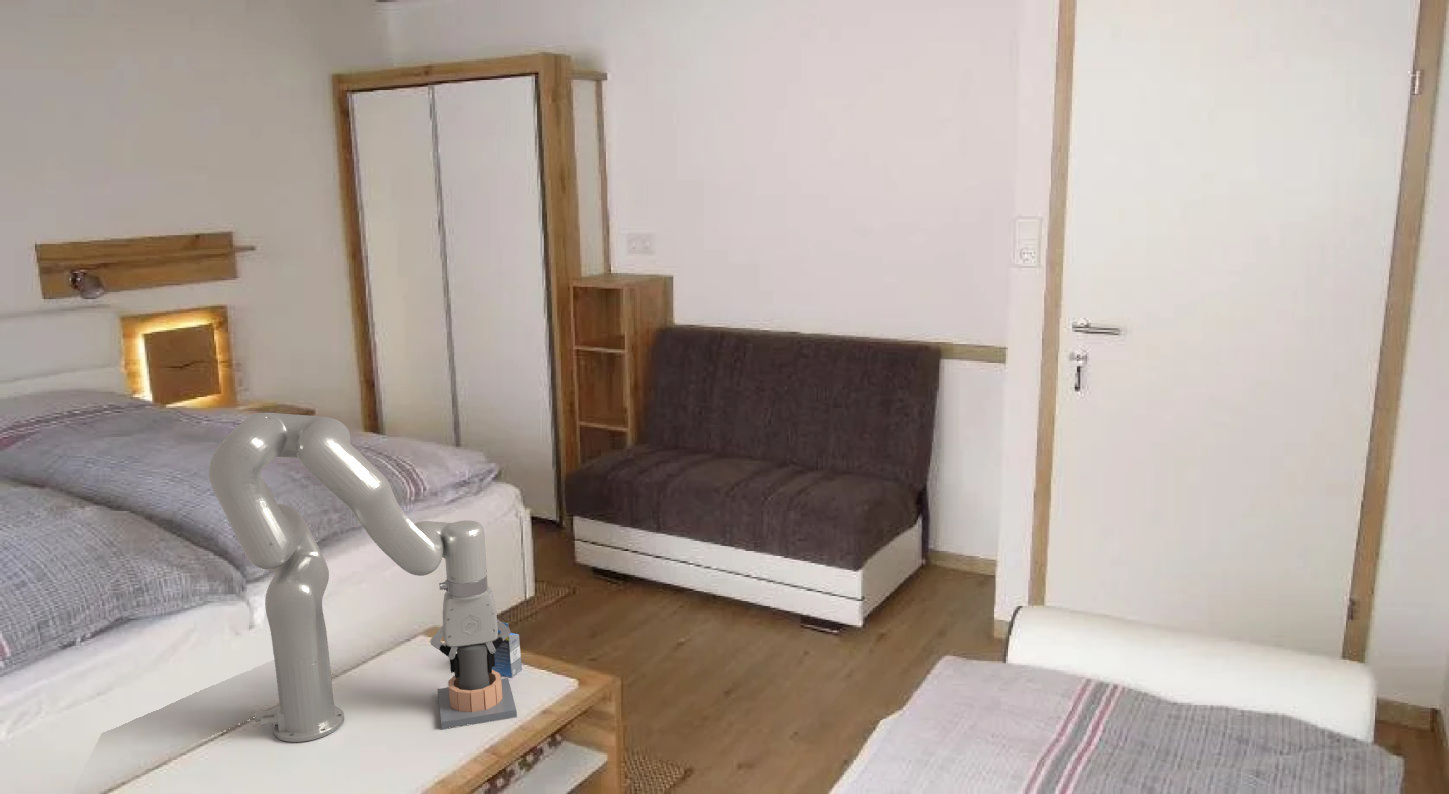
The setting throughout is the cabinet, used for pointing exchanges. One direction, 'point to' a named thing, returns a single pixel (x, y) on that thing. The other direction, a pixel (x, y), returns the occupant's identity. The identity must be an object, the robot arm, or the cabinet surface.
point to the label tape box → (508, 656)
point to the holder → (476, 702)
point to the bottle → (473, 667)
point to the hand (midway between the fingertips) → (473, 671)
